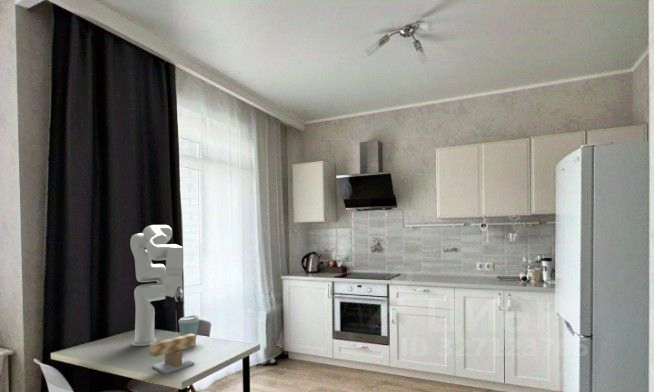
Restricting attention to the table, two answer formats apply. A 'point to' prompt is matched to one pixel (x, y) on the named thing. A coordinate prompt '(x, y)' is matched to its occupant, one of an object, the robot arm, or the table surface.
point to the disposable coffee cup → (188, 325)
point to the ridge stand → (172, 362)
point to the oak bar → (172, 344)
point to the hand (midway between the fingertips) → (173, 307)
